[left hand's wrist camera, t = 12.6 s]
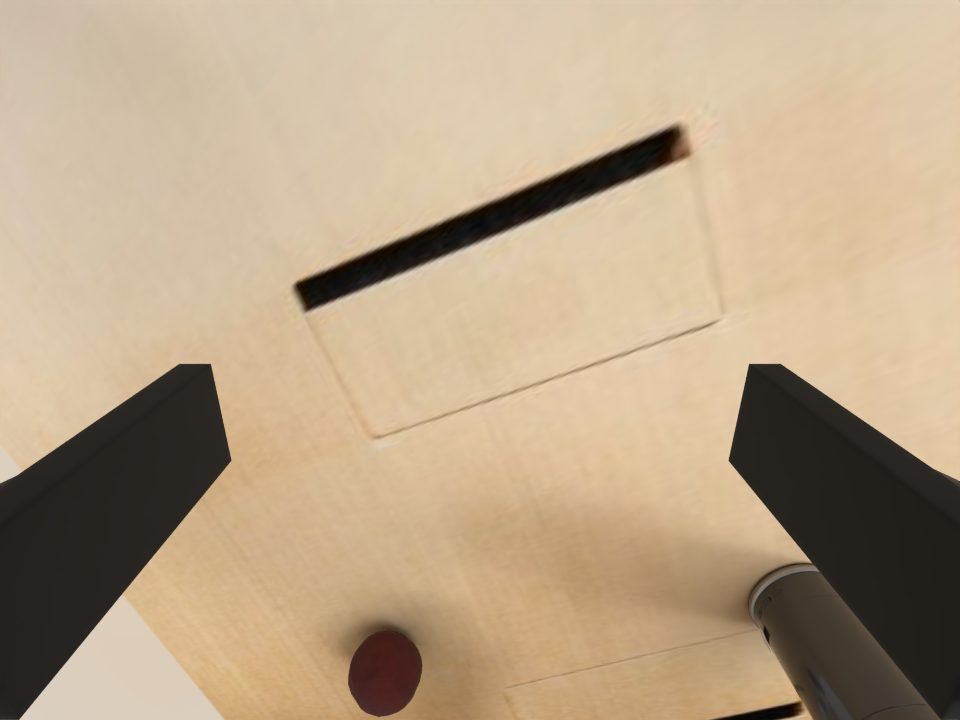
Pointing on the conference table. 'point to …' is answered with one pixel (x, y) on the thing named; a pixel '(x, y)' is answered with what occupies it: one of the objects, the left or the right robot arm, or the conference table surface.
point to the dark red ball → (384, 673)
